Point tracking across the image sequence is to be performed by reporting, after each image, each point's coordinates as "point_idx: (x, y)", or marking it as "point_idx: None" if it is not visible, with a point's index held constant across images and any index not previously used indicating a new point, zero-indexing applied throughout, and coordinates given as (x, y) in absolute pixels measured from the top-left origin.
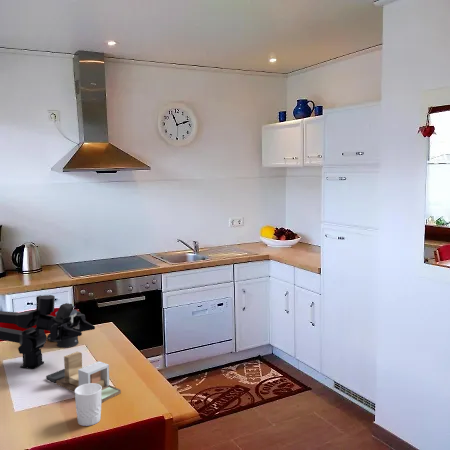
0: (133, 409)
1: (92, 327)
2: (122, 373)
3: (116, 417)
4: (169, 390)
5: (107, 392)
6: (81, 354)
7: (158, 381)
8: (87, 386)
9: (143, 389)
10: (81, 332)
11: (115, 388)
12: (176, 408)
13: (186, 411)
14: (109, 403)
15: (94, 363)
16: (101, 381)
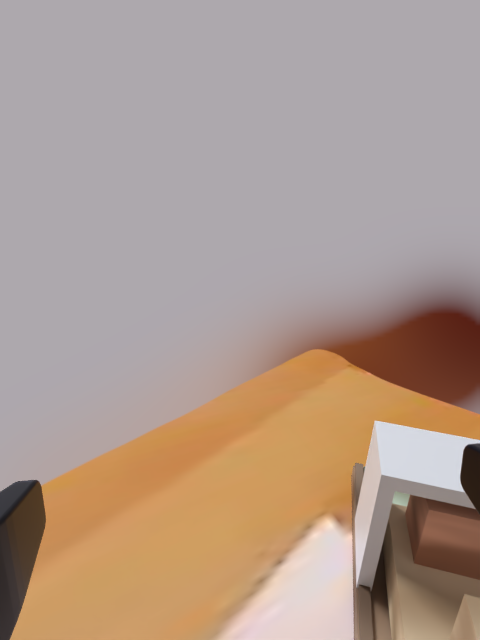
0: (400, 415)
1: (27, 528)
2: (168, 557)
3: (468, 430)
4: (251, 385)
5: (407, 494)
6: (464, 607)
7: (205, 416)
8: None
9: (281, 431)
10: (471, 444)
11: (362, 479)
12: (324, 362)
13: (323, 351)
14: None
15: (427, 480)
16: (406, 507)
